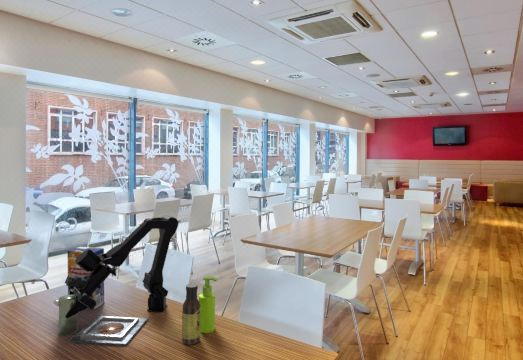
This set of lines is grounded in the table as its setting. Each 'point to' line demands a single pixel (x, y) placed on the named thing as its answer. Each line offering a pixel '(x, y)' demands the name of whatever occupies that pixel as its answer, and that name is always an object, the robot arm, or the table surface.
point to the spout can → (65, 324)
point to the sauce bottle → (191, 316)
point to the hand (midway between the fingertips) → (64, 314)
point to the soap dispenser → (207, 307)
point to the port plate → (109, 331)
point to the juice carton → (80, 272)
